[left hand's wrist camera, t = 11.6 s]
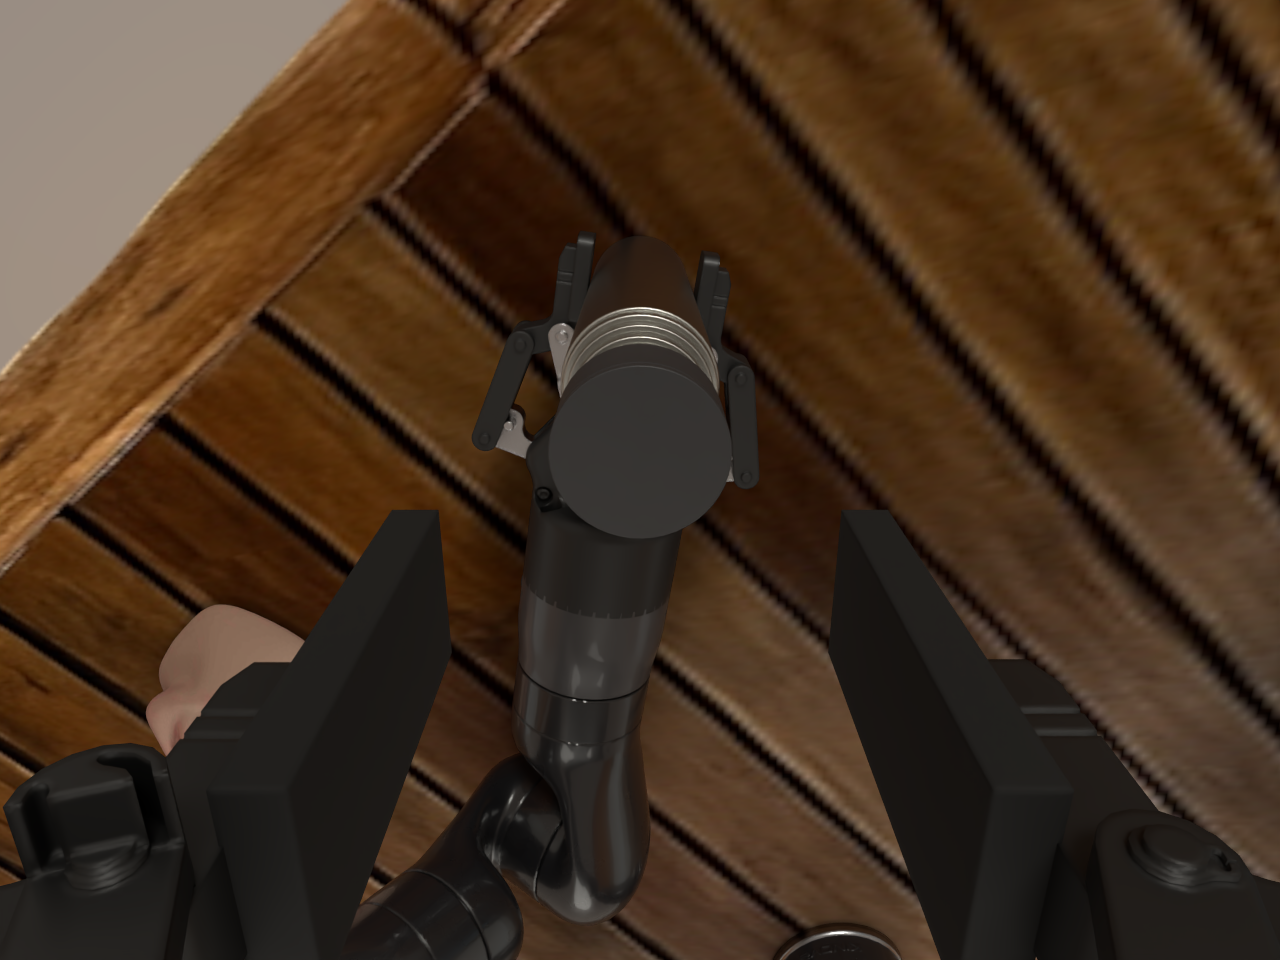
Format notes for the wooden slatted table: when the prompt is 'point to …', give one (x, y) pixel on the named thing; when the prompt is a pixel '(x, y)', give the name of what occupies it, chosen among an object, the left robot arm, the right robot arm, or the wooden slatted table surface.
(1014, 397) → the wooden slatted table surface
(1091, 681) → the wooden slatted table surface
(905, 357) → the wooden slatted table surface
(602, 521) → the cap
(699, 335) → the bottle
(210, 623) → the anatomical model
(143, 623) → the wooden slatted table surface
